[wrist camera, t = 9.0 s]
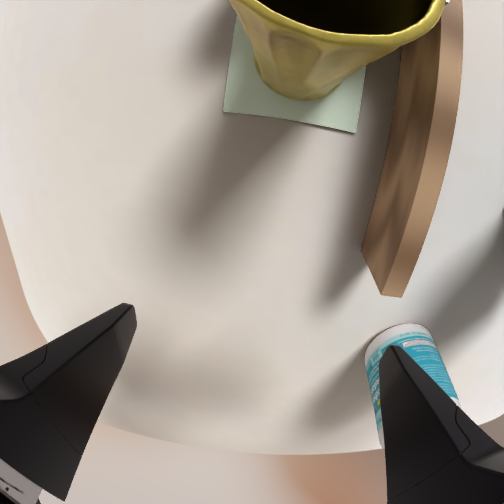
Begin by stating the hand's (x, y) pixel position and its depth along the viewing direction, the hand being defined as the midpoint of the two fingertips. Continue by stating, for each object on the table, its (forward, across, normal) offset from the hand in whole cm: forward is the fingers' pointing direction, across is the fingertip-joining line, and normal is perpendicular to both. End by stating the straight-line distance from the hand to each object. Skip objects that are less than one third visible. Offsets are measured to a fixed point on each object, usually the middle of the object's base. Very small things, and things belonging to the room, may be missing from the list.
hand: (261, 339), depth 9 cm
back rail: (+13, -8, -8) cm, 17 cm away
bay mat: (+13, 0, -11) cm, 17 cm away
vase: (+13, 0, -11) cm, 17 cm away
